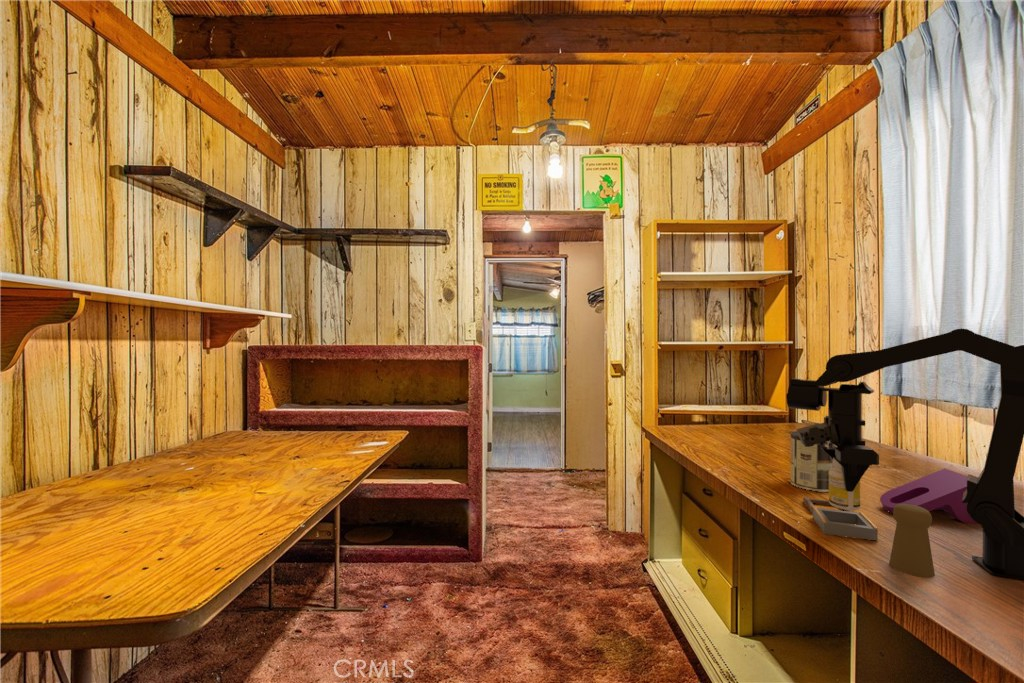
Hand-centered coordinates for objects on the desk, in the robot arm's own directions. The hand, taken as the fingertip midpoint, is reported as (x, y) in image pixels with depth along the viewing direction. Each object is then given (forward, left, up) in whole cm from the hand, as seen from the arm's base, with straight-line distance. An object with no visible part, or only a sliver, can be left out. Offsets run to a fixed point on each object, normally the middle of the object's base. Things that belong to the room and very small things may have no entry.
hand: (844, 487), depth 95 cm
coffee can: (+30, -1, -9) cm, 31 cm away
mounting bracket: (+17, -21, -10) cm, 29 cm away
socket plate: (0, 0, -9) cm, 9 cm away
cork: (-15, -6, -9) cm, 18 cm away
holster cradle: (+11, 0, -9) cm, 14 cm away
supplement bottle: (0, 0, -4) cm, 4 cm away
